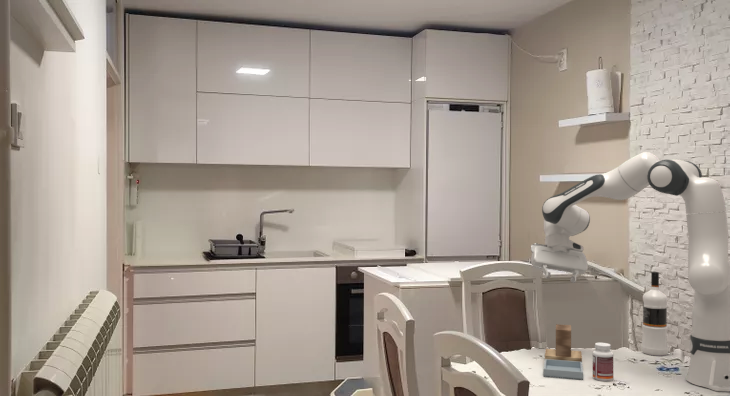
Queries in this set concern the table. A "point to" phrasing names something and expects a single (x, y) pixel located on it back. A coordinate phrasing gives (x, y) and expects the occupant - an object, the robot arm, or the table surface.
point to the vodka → (654, 320)
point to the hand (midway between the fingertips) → (560, 279)
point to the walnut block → (563, 340)
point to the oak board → (574, 357)
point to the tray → (563, 369)
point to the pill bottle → (602, 362)
